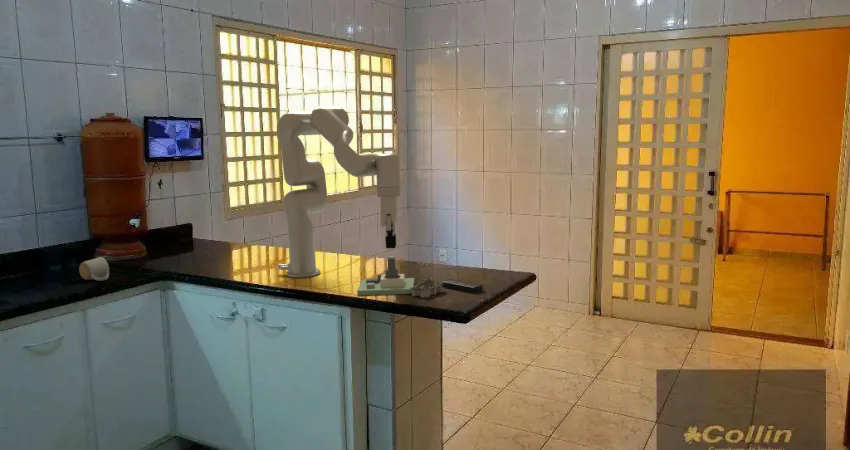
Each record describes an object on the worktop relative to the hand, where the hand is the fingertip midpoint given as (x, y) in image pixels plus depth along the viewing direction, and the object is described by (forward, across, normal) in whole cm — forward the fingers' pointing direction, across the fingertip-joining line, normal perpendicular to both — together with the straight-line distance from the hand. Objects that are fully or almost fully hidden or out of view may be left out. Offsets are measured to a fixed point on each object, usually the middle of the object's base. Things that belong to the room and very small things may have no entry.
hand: (391, 246), depth 206 cm
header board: (+14, 0, -2) cm, 14 cm away
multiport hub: (+15, +3, +23) cm, 28 cm away
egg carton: (+15, +7, +12) cm, 20 cm away
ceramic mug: (+14, -28, -114) cm, 119 cm away
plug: (+13, 0, 0) cm, 13 cm away
